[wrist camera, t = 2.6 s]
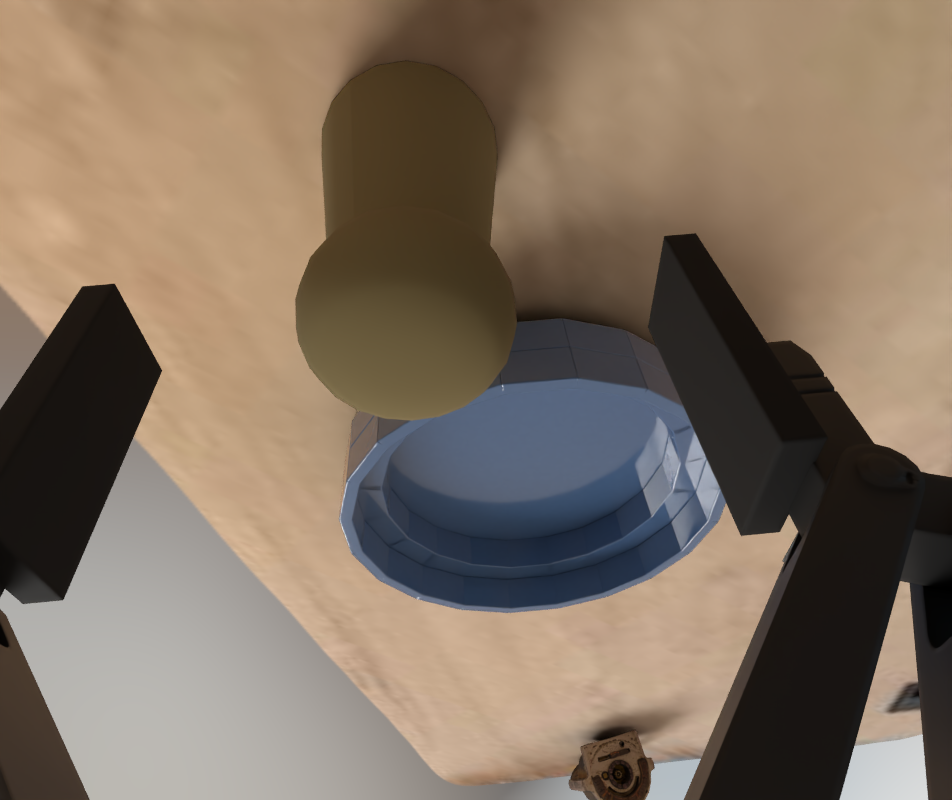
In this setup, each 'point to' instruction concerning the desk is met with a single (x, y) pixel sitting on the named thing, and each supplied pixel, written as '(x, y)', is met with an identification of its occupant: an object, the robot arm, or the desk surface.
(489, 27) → the desk surface
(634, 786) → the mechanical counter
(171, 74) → the desk surface
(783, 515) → the robot arm
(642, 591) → the desk surface
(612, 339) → the bowl
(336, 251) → the olive peg doll
